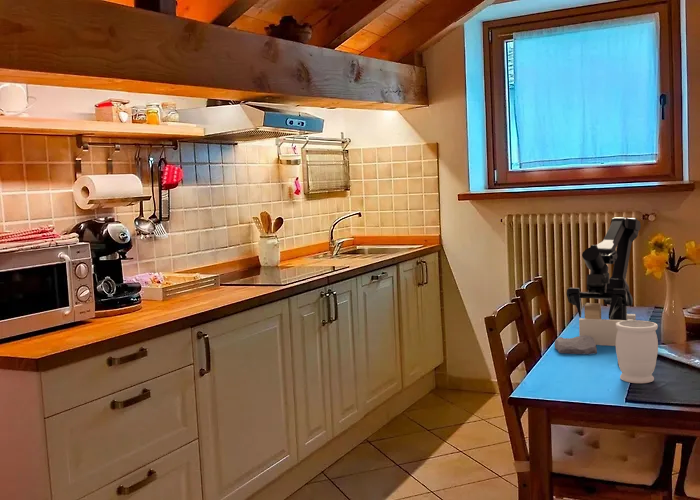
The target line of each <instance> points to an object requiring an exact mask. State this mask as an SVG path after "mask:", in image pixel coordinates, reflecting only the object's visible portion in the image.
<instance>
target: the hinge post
mask: <svg viewBox="0 0 700 500" xmlns="http://www.w3.org/2000/svg"><path fill="white" fill-rule="evenodd" d="M636 315H637V314H636V313H627V320H628V319H633V320H637V319H636Z"/></svg>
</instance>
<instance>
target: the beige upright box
mask: <svg viewBox="0 0 700 500" xmlns="http://www.w3.org/2000/svg"><path fill="white" fill-rule="evenodd" d="M578 319H579V320H578V321H579V322H578V327H579V329H578V331H579V332H578V334H579V336H590V337H592V338H593V339H594V342H595V344H596V346H609V347H610V346H612V347H616V335H617V331H618V329H617V328H616V323H617V322H620V321H626V320H609V319H605V318H604V319H602V318H601V319H585V318H582V317H581V318H580V317H579V318H578Z"/></svg>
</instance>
